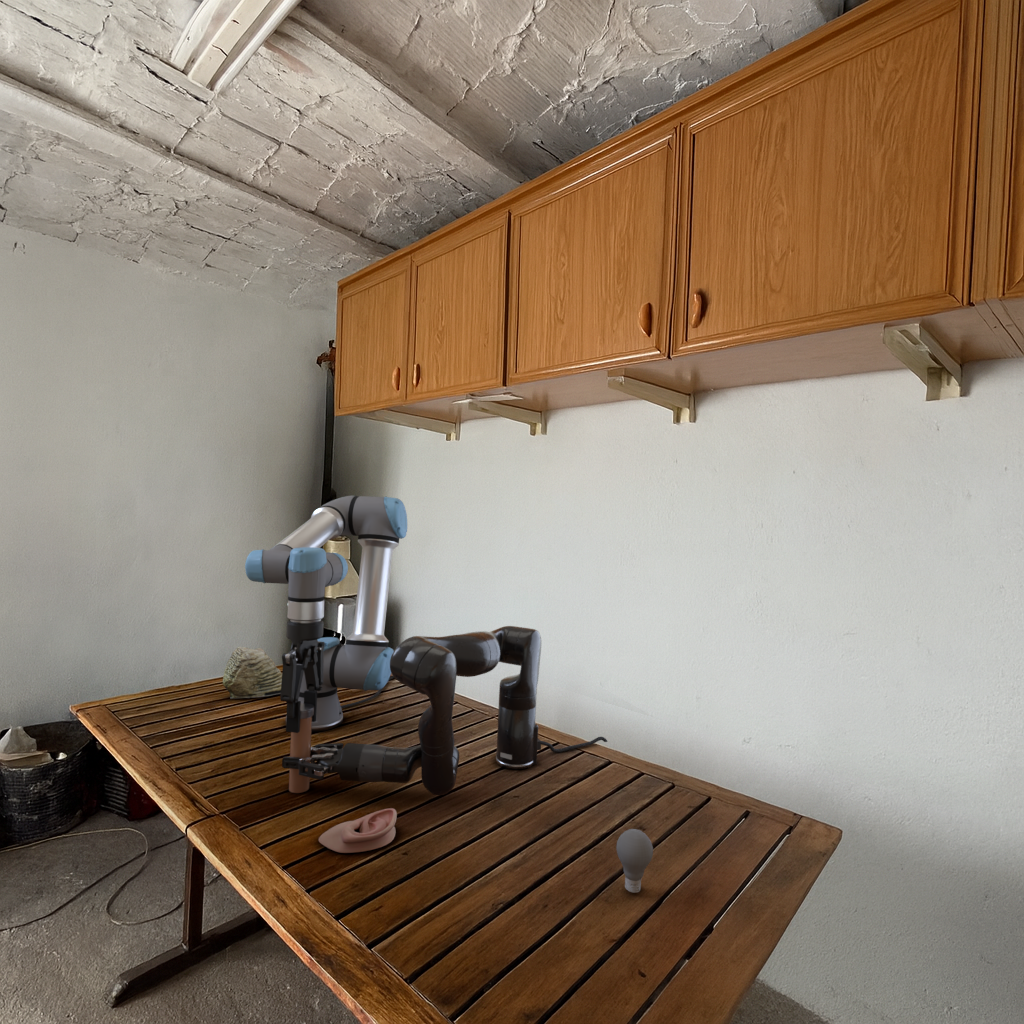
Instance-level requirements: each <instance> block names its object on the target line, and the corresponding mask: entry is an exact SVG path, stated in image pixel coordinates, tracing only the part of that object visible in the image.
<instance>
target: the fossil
mask: <svg viewBox="0 0 1024 1024" xmlns="http://www.w3.org/2000/svg"><path fill="white" fill-rule="evenodd" d="M222 676H223V677H222V685H223V687H224V688H225V690H226V691H228V693H229V698H230V699H250V698H264V697H271V696H275V695H281V683H282V672H281V669H279V668H278V667H277V665H276V663H275V662H274V660H273V659H272V658H271V657H270V656H269V655H268V654H267V653H266V652H265V650H264V649H263V648H260V647H258V648H251V647H247V646H246V647H245V646H238V647H237V648H236V649H235V650H233V651H232V653H231V656H230V657H229V659H228V660H227V663H226V666H225V668H224V671H223V675H222Z"/></svg>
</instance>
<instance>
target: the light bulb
mask: <svg viewBox="0 0 1024 1024" xmlns="http://www.w3.org/2000/svg"><path fill="white" fill-rule="evenodd" d="M615 849H616V854H617V857H618V859H619V861H620V863H621V865H622V867H623V873H624V874H623V875H624V876H625V878H624V888H625V890H627V891H628V892H630V893H634V894H635V893H639V892H640V891H641V889H642V887H641V886H642V879H643V877H644V875H645V871H646V868H647V867H648V866H649V864H650V863H651V861H652V859H653V855H654V847H653V843H652V841H651V838H649V836H648V835H647V834H646V833H645V832H643V831H642V830H641V829H636V828H629V829H627V830H625V831H623V832H622V833H621V834H620V835H619V837H618V839H617V841H616V847H615Z"/></svg>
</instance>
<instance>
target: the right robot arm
mask: <svg viewBox="0 0 1024 1024" xmlns="http://www.w3.org/2000/svg"><path fill="white" fill-rule="evenodd" d="M393 651H394V652H393V654H392V656H391V659H390V670H391V676H394V677H395V678H394V679H395V680H397V681H398V682H399V683H400V684H401V685H404V686H405V687H407V688H409V689H412V690H414V691H416V692H418V693H419V694H422V695H425V696H426V697H428V700H429V703H430V705H429V706H428V707H427V708H426V709H424V711H423V713H422V714H421V716H420V718H419V720H418V724H417V734H418V739H419V744H418V745H413V746H410V747H397V746H385V745H381V744H368V743H353V742H348V743H345V745H344V742H343V743H342V742H335V743H318V744H317V743H316V744H315V746H311V756H310V757H307V758H300V757H290V756H283V758H282V760H281V768H283V769H289V770H290V769H299V775H302V776H306V777H310V779H315V780H324V778H325V775H326V774H333V773H334V774H335V773H336V774H338V775H339V778H340V780H342V781H345V782H346V781H347V782H362V783H397V784H407V783H409V782H410V781H411V780H412V779H413V777H414V775H415V773H416V771H417V770H418V769H419V768H421V769H420V771H421V773H420V775H421V781H422V782H421V783H422V785H423V787H424V788H425V790H426V791H427V792H429V793H430V794H432V795H434V796H444V795H447V794H449V793H450V792H451V791H452V790H453V789H454V786H455V785H456V781H457V775H458V769H459V764H460V763H459V762H460V752H459V750H458V748H457V747H456V746H455V734H454V725H453V712H454V711H453V710H454V702H455V695H456V686H457V685H456V684H457V677H463V678H470V677H471V678H472V677H477V676H481V675H485V674H487V673H489V672H492V671H493V670H494V669H495V668H496V667H497V666H498V664H499V663H502V664H506V665H507V664H508V665H514V666H520V671H519V673H518V674H514V675H509V676H506V677H504V678H501V680H500V682H499V690H498V711H497V712H498V713H497V731H496V735H497V736H496V752H495V753H496V754H495V763H496V764H497V765H498V766H500V767H502V768H504V769H509V770H510V769H511V770H524V769H529V768H531V767H532V766H534V765H535V766H536V765H537V763H538V751H541V750H542V746H546V747H548V748H549V749H550V751H551V752H553V753H558V754H559V753H560V754H561V753H565V752H568V751H572V750H575V749H580V748H584V747H588V746H592V745H594V744H596V743H597V742H599V741H603V742H604V743H607V742H608V740H607V738H606V737H604V736H598V737H596V738H594V739H592V740H590V741H587V742H583V743H578V744H572V745H569V746H566V747H562V748H555V747H554V746H553V745H552V744H551V743H550V742H547V741H543V740H541V739H540V738H539V725H538V724H537V723H536V716H537V715H536V713H537V693H538V685H539V678H540V663H541V655H542V636H541V634H540V632H539V630H538V629H536V628H530V627H523V626H515V625H506V626H505V625H504V626H501V627H499V628H496V629H494V630H491V631H486V630H484V631H483V630H481V631H472V632H466V633H460V634H459V633H458V634H452V635H445V636H425V635H413V636H410V637H408V638H405V639H404V640H402V641H401V642H400V643H399V644H398V645H397V646H396V647H395V649H393ZM309 762H310V763H309ZM307 771H308V772H307Z"/></svg>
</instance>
